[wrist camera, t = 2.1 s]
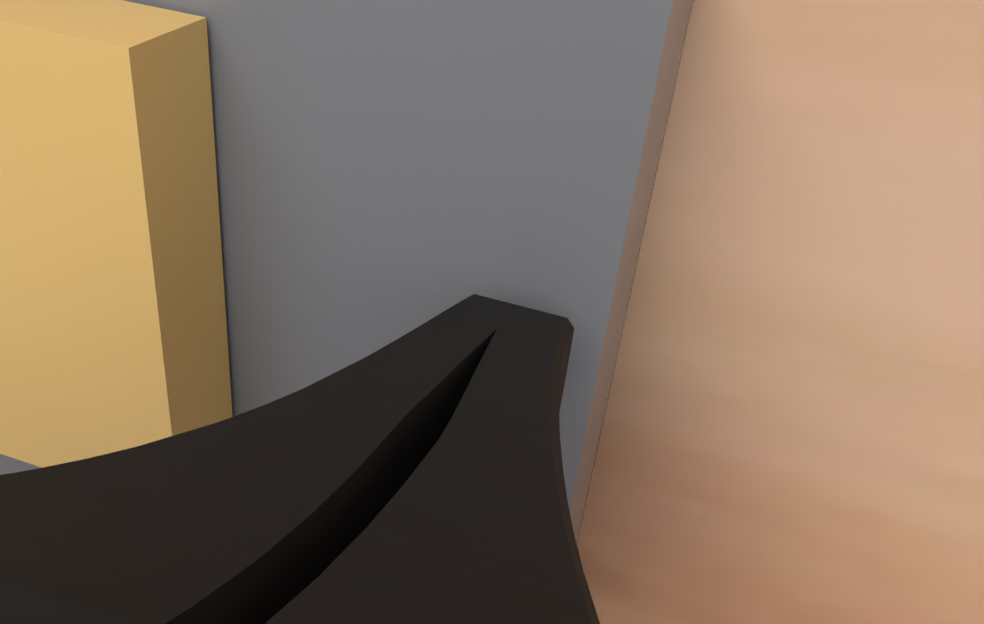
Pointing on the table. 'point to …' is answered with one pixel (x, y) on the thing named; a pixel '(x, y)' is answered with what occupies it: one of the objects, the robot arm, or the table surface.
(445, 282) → the socket plate
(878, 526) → the table surface
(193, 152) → the yellow flat square block
